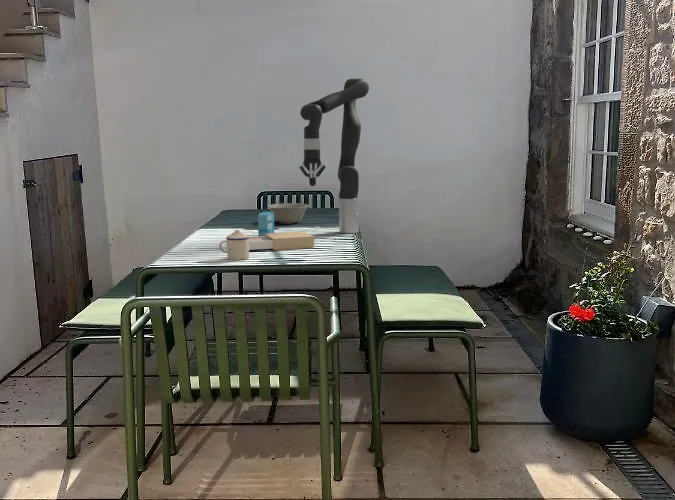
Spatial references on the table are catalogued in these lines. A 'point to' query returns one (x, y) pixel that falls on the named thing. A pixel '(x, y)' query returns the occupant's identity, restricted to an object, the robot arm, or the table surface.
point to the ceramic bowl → (288, 212)
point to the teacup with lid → (236, 246)
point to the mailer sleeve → (291, 240)
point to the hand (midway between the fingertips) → (312, 185)
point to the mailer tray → (261, 242)
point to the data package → (265, 223)
